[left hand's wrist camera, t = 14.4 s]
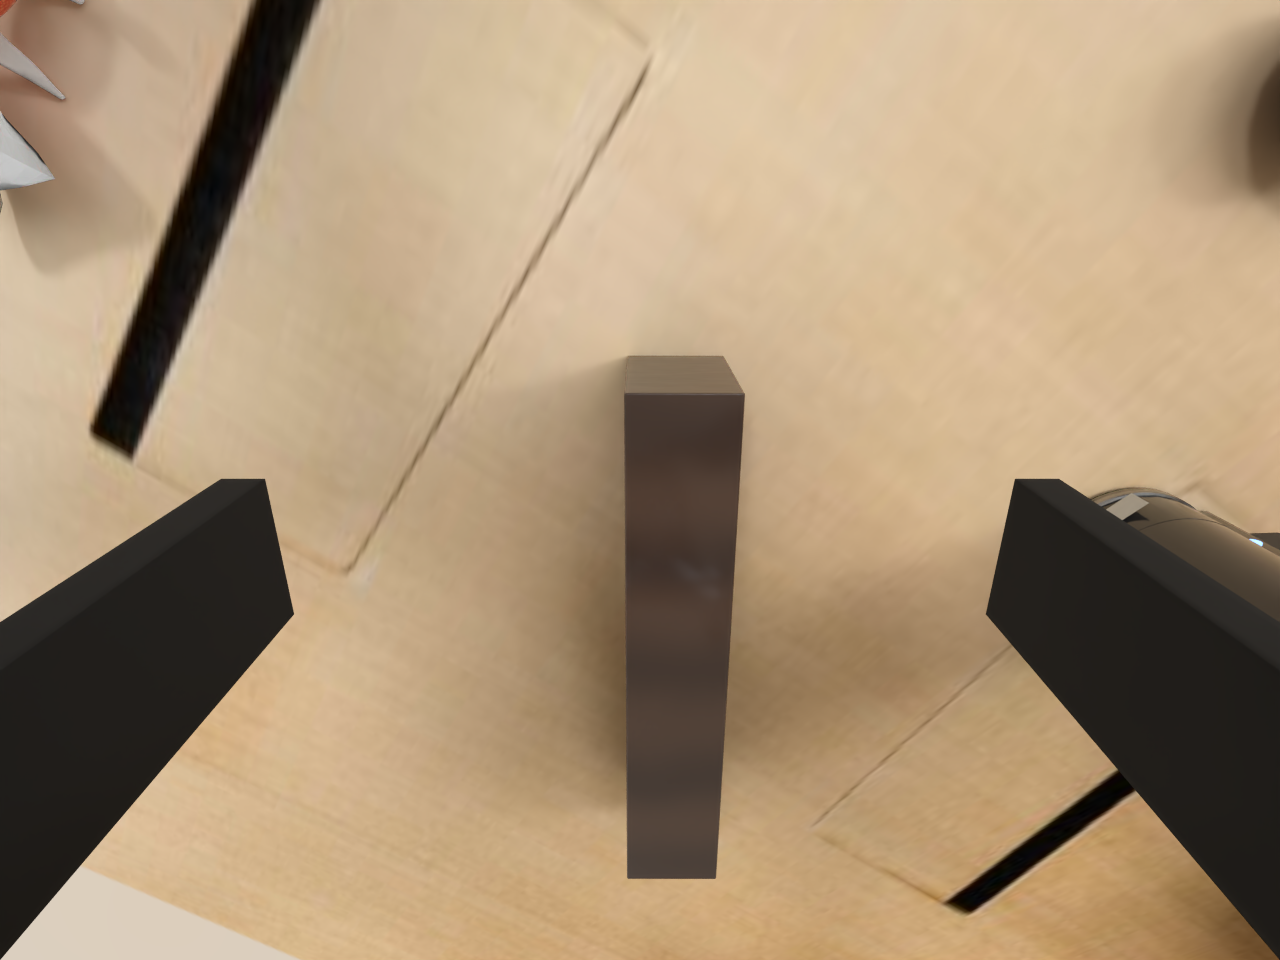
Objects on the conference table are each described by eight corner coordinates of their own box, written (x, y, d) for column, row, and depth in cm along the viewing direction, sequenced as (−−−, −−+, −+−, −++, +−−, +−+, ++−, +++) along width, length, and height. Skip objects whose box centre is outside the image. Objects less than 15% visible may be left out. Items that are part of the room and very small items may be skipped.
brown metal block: (704, 773, 46) (716, 879, 39) (629, 773, 46) (627, 879, 39) (723, 355, 36) (745, 393, 29) (627, 355, 36) (624, 393, 29)
